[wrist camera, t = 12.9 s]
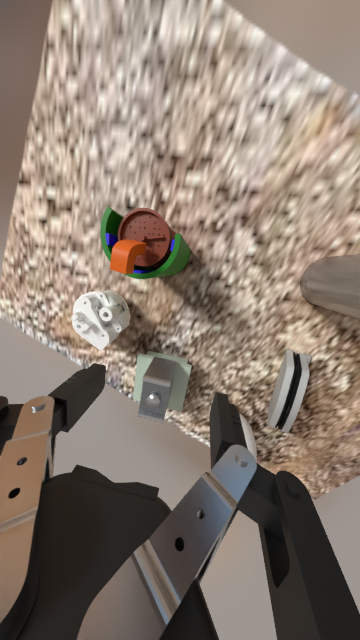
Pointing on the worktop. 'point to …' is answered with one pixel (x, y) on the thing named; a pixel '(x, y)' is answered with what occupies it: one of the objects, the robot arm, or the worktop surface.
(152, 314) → the worktop surface
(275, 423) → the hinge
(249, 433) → the sauce bottle
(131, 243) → the motor
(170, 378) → the housing
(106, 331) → the mechanical part
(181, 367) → the stand
